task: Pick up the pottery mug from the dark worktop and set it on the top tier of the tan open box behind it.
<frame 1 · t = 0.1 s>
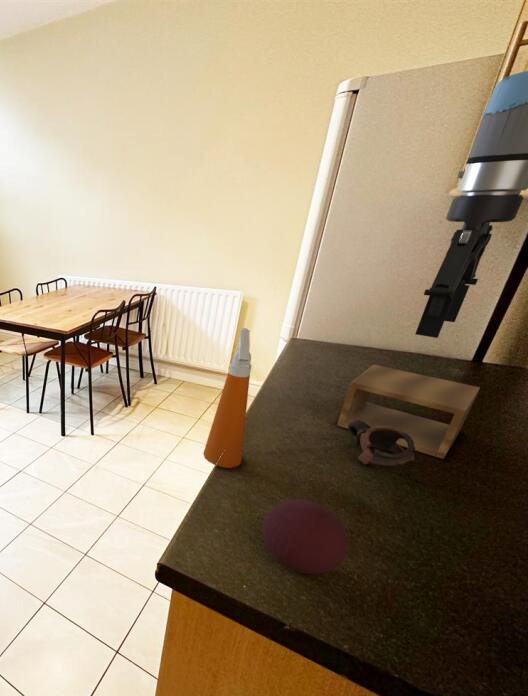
hand: (435, 327, 72), 27 cm above the kitchen counter, tool pointing down, fingers open, 13 cm apart
spray bottle: (221, 454, 86), on the kitchen counter
tan open box: (396, 428, 93), on the kitchen counter
pottery mug: (372, 457, 84), on the kitchen counter
decorative ball: (294, 562, 61), on the kitchen counter
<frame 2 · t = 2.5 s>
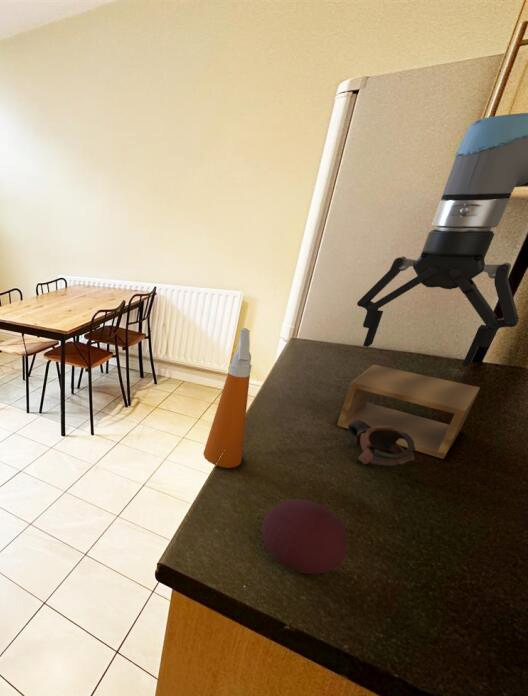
hand: (413, 354, 75), 22 cm above the kitchen counter, tool pointing down, fingers open, 13 cm apart
nothing on the kitchen counter moved.
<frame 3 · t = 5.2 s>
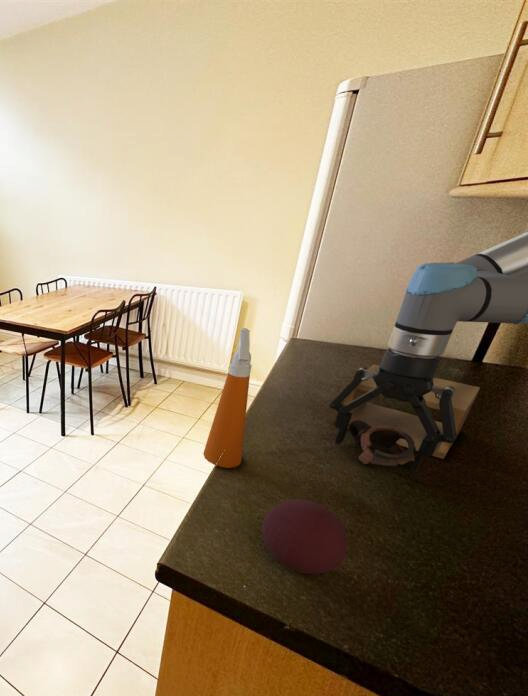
hand: (374, 453, 83), 1 cm above the kitchen counter, tool pointing down, fingers closed on pottery mug, 11 cm apart
pottery mug: (372, 457, 84), on the kitchen counter, touching gripper
everything else where it was.
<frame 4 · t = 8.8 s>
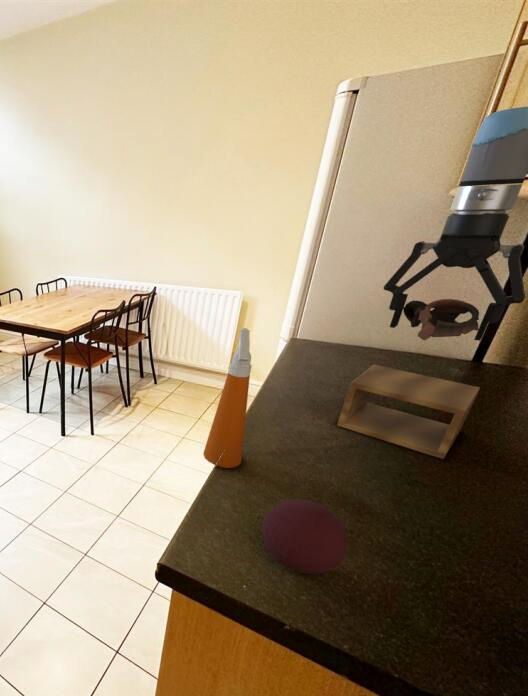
hand: (433, 332, 81), 24 cm above the kitchen counter, tool pointing down, fingers closed on pottery mug, 11 cm apart
pottery mug: (430, 336, 81), point 23 cm above the kitchen counter, touching gripper
everything else where it was.
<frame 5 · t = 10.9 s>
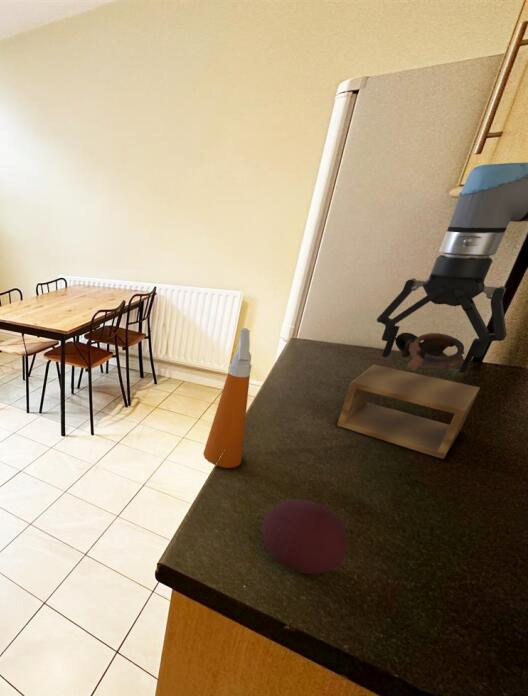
hand: (422, 363, 87), 16 cm above the kitchen counter, tool pointing down, fingers closed on pottery mug, 11 cm apart
pottery mug: (420, 366, 87), point 15 cm above the kitchen counter, touching gripper
everything else where it was.
when the fingers open (12 cm above the kitchen counter, at t = 12.6 s): pottery mug stays where it is, resting on tan open box.
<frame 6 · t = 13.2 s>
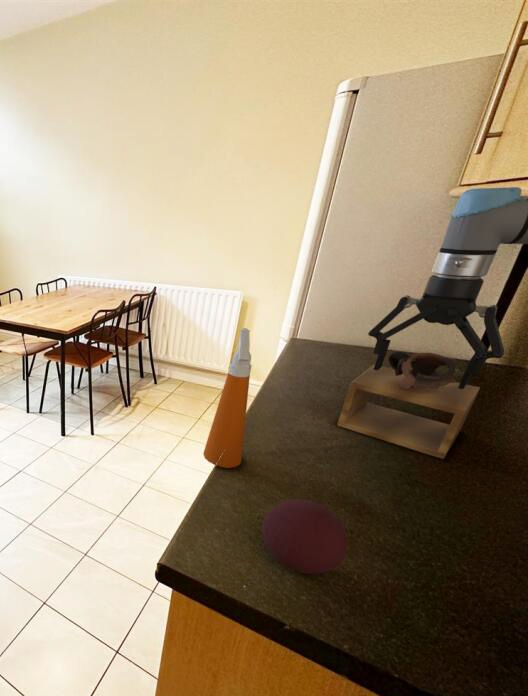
hand: (417, 377, 88), 13 cm above the kitchen counter, tool pointing down, fingers open, 13 cm apart
pottery mug: (413, 385, 89), point 11 cm above the kitchen counter, touching tan open box
everything else where it was.
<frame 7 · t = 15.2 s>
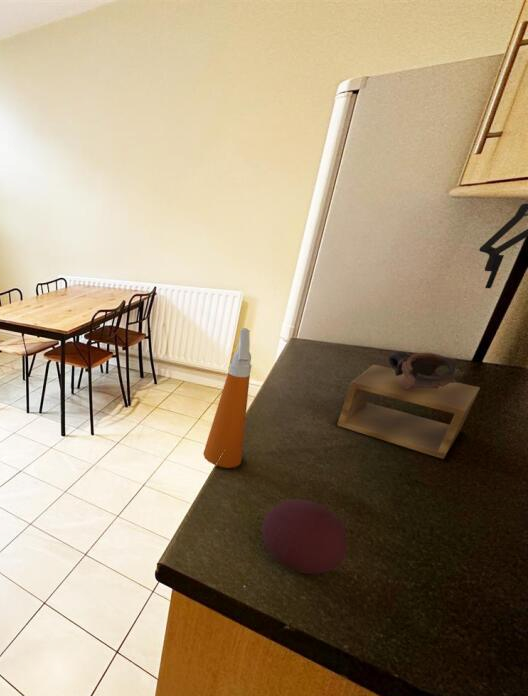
nothing on the kitchen counter moved.
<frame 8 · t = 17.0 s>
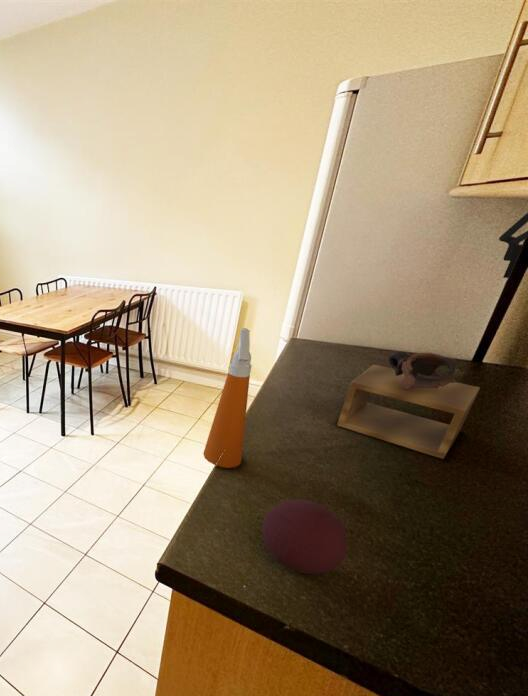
nothing on the kitchen counter moved.
at the end: pottery mug inside the target area on the tan open box (0.1 cm from its centre), point 10.8 cm above the tan open box's base; pottery mug tilted 0°; the gripper is holding nothing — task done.
